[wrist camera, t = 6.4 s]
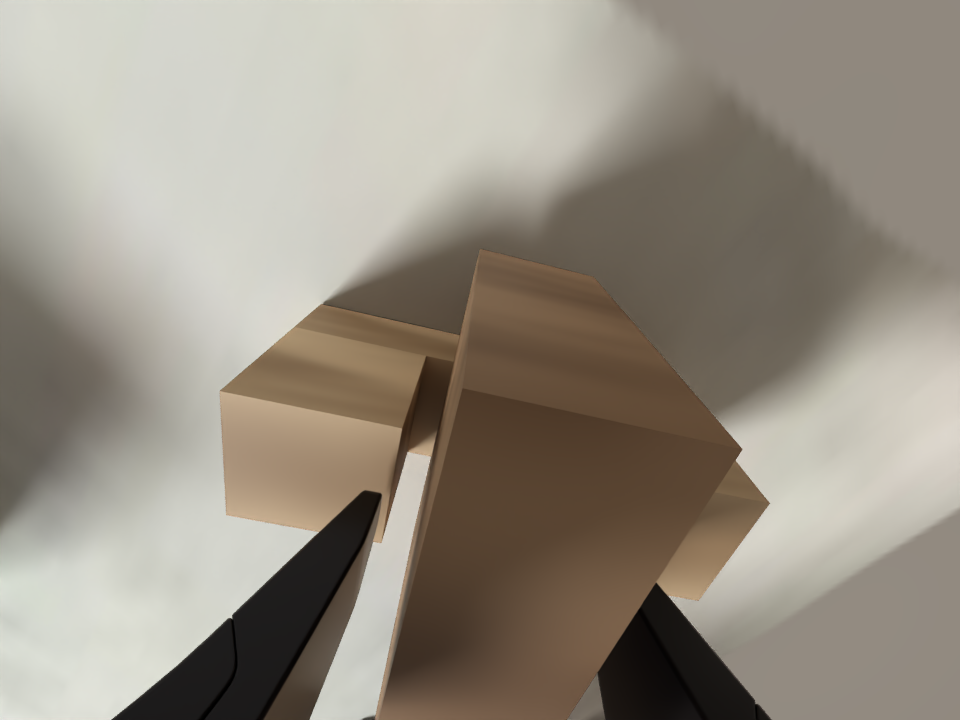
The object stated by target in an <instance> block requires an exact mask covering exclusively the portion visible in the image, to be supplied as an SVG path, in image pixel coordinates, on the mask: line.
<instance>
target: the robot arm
mask: <svg viewBox="0 0 960 720" xmlns="http://www.w3.org/2000/svg"><path fill="white" fill-rule="evenodd" d="M381 502H382V494H381V493H380V492H374V491H369V490H364V491H362V492H361V493H360V494H359V495H358V496H356V497H355V498H354V499H353V500H352V501H351V502H350V503H349V504H348V505H347V506H346V507H345V508H344V509H343V510H342V511H341V512H340V513H339V514H338V515H337V516H335V517H334V518H333V519H332V520H331V521H330V522H329V523H328V524H327V525H326V526H325V527H324V528H323V529H322V530H321V531H320V532H319V533H318V534H317V535H316V536H314V537H313V538H312V539H311V540H310V541H309V542H308V543H307V544H306V545H305V546H304V547H303V548H302V549H301V550H300V551H299V552H298V553H297V554H296V555H295V556H293V557H292V558H291V559H290V560H289V561H288V562H287V563H286V564H285V565H284V566H283V567H282V568H281V569H280V570H279V571H278V572H277V573H276V574H275V575H273V576H272V577H271V578H270V579H269V580H268V581H267V582H266V583H265V584H264V585H263V586H262V587H261V588H260V589H259V590H258V591H257V592H256V593H255V594H254V595H252V596H251V597H250V598H249V599H248V600H247V601H246V602H245V603H244V604H243V605H242V606H241V607H240V608H239V609H238V610H237V611H236V612H235V613H234V614H233V615H232V619H231V618H228V619H227V620H226V621H225V622H224V623H223V624H222V625H221V626H220V627H219V628H218V629H216V630H215V631H214V632H213V633H212V634H211V635H210V636H209V637H208V638H207V639H206V640H205V641H204V642H203V643H202V644H200V645H199V646H198V647H197V648H196V649H195V650H194V651H193V652H192V653H190V654H189V655H188V656H187V657H186V658H185V659H184V660H183V661H182V662H181V663H179V664H178V665H177V666H176V667H175V668H174V669H173V670H171V671H170V672H169V673H168V674H167V675H165V676H164V677H163V678H162V679H161V680H159V681H158V682H157V683H156V684H155V685H153V686H152V687H151V688H150V689H149V690H147V691H146V692H145V693H144V694H143V695H141V696H140V697H139V698H138V699H136V700H135V701H134V702H133V703H131V704H130V705H129V706H128V707H127V708H125V709H124V710H123V711H122V712H120V713H119V714H118V715H117V716H115V717H114V718H113V719H112V720H309V719H310V717H311V714H312V712H313V709H314V707H315V704H316V702H317V699H318V697H319V694H320V692H321V689H322V687H323V684H324V682H325V679H326V677H327V674H328V672H329V669H330V667H331V664H332V662H333V659H334V657H335V654H336V652H337V649H338V647H339V644H340V642H341V639H342V637H343V634H344V632H345V629H346V627H347V624H348V622H349V619H350V616H351V614H352V611H353V609H354V606H355V603H356V600H357V597H358V594H359V590H360V587H361V583H362V579H363V576H364V572H365V569H366V565H367V561H368V558H369V554H370V551H371V547H372V543H373V540H374V536H375V533H376V529H377V525H378V520H379V514H380V508H381ZM597 674H598V680H599V685H600V691H601V697H602V703H603V708H604V714H605V720H771V719H770V717H769V716H768V715H767V714H766V713H765V711H764V710H763V709H762V708H761V706H760V705H758V704H755V700H754V698H753V697H752V696H751V695H750V693H749V692H748V691H747V690H746V689H745V688H744V686H743V685H742V684H741V683H740V682H739V680H738V679H737V678H736V677H735V676H734V675H733V673H732V672H731V671H730V670H729V669H728V667H727V666H726V665H725V664H724V662H723V661H722V660H721V659H720V658H719V656H718V655H717V654H716V653H715V652H714V650H713V649H712V648H711V647H710V646H709V645H708V643H707V642H706V641H705V640H704V639H703V637H702V636H701V635H700V634H699V633H698V631H697V630H696V629H695V628H694V627H693V625H692V624H691V623H690V622H689V621H688V619H687V618H686V617H685V616H684V615H683V613H682V612H681V611H680V610H679V609H678V607H677V606H676V605H675V604H674V603H673V602H672V600H671V599H670V598H669V597H668V596H667V594H666V593H665V592H664V591H663V590H662V588H661V587H660V586H659V585H658V584H657V582H656V583H655V585H654V586H653V588H652V589H651V591H650V592H649V594H648V595H647V597H646V599H645V600H644V602H643V603H642V605H641V606H640V608H639V609H638V611H637V612H636V614H635V615H634V617H633V619H632V620H631V622H630V623H629V625H628V626H627V628H626V629H625V631H624V632H623V634H622V635H621V637H620V639H619V640H618V642H617V643H616V645H615V646H614V648H613V649H612V651H611V652H610V654H609V655H608V657H607V659H606V660H605V662H604V663H603V665H602V666H601V668H600V669H599V671H598V672H597Z"/></svg>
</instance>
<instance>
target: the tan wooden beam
mask: <svg viewBox="0 0 960 720" xmlns="http://www.w3.org/2000/svg"><path fill="white" fill-rule="evenodd" d="M741 451H742V448H741V447H740V446H739V445H738V444H737V442H736V441H735V440H734V439H733V438H732V437H731V435H730V434H729V433H728V432H727V431H726V430H725V428H724V427H723V426H722V425H721V424H720V423H719V422H718V420H717V419H716V418H715V417H714V416H713V415H712V413H711V412H710V411H709V410H708V409H707V408H706V406H705V405H704V404H703V403H702V402H701V401H700V400H699V398H698V397H697V396H696V395H695V394H694V393H693V391H692V390H691V389H690V388H689V387H688V386H687V384H686V383H685V382H684V381H683V380H682V379H681V378H680V376H679V375H678V374H677V373H676V372H675V371H674V369H673V368H672V367H671V366H670V365H669V364H668V362H667V361H666V360H665V359H664V358H663V357H662V355H661V354H660V353H659V352H658V351H657V350H656V349H655V347H654V346H653V345H652V344H651V343H650V342H649V340H648V339H647V338H646V337H645V336H644V335H643V333H642V332H641V331H640V330H639V329H638V328H637V327H636V325H635V324H634V323H633V322H632V321H631V320H630V318H629V317H628V316H627V315H626V314H625V313H624V311H623V310H622V309H621V308H620V307H619V306H618V305H617V303H616V302H615V301H614V300H613V299H612V298H611V296H610V295H609V294H608V293H607V292H606V291H605V289H604V288H603V287H602V286H601V285H600V284H599V283H598V281H597V280H596V279H595V278H594V277H592V276H588V275H584V274H580V273H576V272H572V271H568V270H564V269H560V268H556V267H552V266H548V265H544V264H540V263H536V262H532V261H528V260H524V259H519V258H515V257H511V256H507V255H503V254H499V253H495V252H491V251H487V250H483V249H480V251H479V255H478V259H477V263H476V268H475V272H474V276H473V280H472V285H471V289H470V293H469V298H468V302H467V306H466V310H465V315H464V319H463V323H462V327H461V332H460V336H459V340H458V344H457V349H456V353H455V357H454V362H453V366H452V370H451V374H450V379H449V383H448V387H447V391H446V396H445V400H444V404H443V408H442V413H441V417H440V421H439V426H438V430H437V434H436V438H435V443H434V447H433V451H432V455H431V460H430V464H429V468H428V472H427V477H426V481H425V485H424V490H423V494H422V498H421V502H420V507H419V511H418V515H417V519H416V524H415V528H414V533H413V538H412V542H411V547H410V552H409V557H408V562H407V567H406V571H405V576H404V581H403V586H402V591H401V595H400V600H399V605H398V610H397V615H396V620H395V624H394V629H393V634H392V639H391V644H390V648H389V653H388V658H387V663H386V668H385V672H384V677H383V682H382V687H381V692H380V697H379V701H378V706H377V711H376V716H375V720H567V719H568V717H569V715H570V714H571V712H572V711H573V709H574V708H575V706H576V705H577V703H578V702H579V700H580V699H581V697H582V695H583V694H584V692H585V691H586V689H587V688H588V686H589V685H590V683H591V682H592V680H593V679H594V677H595V675H596V674H597V672H598V671H599V669H600V668H601V666H602V665H603V663H604V662H605V660H606V659H607V657H608V655H609V654H610V652H611V651H612V649H613V648H614V646H615V645H616V643H617V642H618V640H619V639H620V637H621V635H622V634H623V632H624V631H625V629H626V628H627V626H628V625H629V623H630V622H631V620H632V619H633V617H634V615H635V614H636V612H637V611H638V609H639V608H640V606H641V605H642V603H643V602H644V600H645V599H646V597H647V595H648V594H649V592H650V591H651V589H652V588H653V586H654V585H655V583H656V582H657V580H658V579H659V577H660V575H661V574H662V572H663V571H664V569H665V568H666V566H667V565H668V563H669V562H670V560H671V559H672V557H673V555H674V554H675V552H676V551H677V549H678V548H679V546H680V545H681V543H682V542H683V540H684V539H685V537H686V535H687V534H688V532H689V531H690V529H691V528H692V526H693V525H694V523H695V522H696V520H697V519H698V517H699V515H700V514H701V512H702V511H703V509H704V508H705V506H706V505H707V503H708V502H709V500H710V499H711V497H712V495H713V494H714V492H715V491H716V489H717V488H718V486H719V485H720V483H721V482H722V480H723V479H724V477H725V475H726V474H727V472H728V471H729V469H730V468H731V466H732V465H733V463H734V462H735V460H736V459H737V457H738V455H739V454H740V452H741Z"/></svg>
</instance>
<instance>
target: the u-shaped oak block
mask: <svg viewBox="0 0 960 720" xmlns="http://www.w3.org/2000/svg"><path fill="white" fill-rule="evenodd" d="M459 336H460V335H457V334H452V333H448V332H443V331H439V330H434V329H430V328H426V327H421V326H417V325H412V324H408V323H403V322H399V321H394V320H390V319H385V318H381V317H376V316H372V315H368V314H363V313H359V312H354V311H350V310H345V309H341V308H336V307H332V306H327V305H323V304H321V305H320V306H318V307H317V308H316V309H315V310H314V311H313V312H311V313H310V314H309V315H308V316H307V317H306V318H304V319H303V320H302V321H301V322H300V323H299V324H297V325H296V326H295V327H294V328H293V329H292V330H290V331H289V332H288V333H287V334H286V335H285V336H283V337H282V338H281V339H280V340H279V341H278V342H276V343H275V344H274V345H273V346H272V347H271V348H269V349H268V350H267V351H266V352H265V353H264V354H262V355H261V356H260V357H259V358H258V359H256V360H255V361H254V362H253V363H252V364H251V365H249V366H248V367H247V368H246V369H245V370H244V371H242V372H241V373H240V374H239V375H238V376H237V377H235V378H234V379H233V380H232V381H231V382H230V383H228V384H227V385H226V386H225V387H224V388H223V389H221V390H220V407H221V425H222V444H223V463H224V481H225V500H226V515H228V516H234V517H239V518H245V519H250V520H256V521H261V522H267V523H272V524H278V525H283V526H289V527H294V528H300V529H305V530H311V531H316V532H320V531H321V530H322V529H323V528H324V527H325V526H326V525H327V524H328V523H329V522H330V521H331V520H332V519H333V518H334V517H335V516H337V515H338V514H339V513H340V512H341V511H342V510H343V509H344V508H345V507H346V506H347V505H348V504H349V503H350V502H351V501H352V500H353V499H354V498H355V497H356V496H358V495H359V494H360V493H361V492H362V491H364V490H369V491H374V492H380V493H381V494H382V502H381V508H380V514H379V520H378V525H377V529H376V533H375V536H374V540H373V542H377V543H381V542H382V539H383V535H384V532H385V528H386V525H387V521H388V518H389V514H390V511H391V507H392V504H393V500H394V497H395V493H396V490H397V486H398V483H399V479H400V476H401V472H402V469H403V465H404V462H405V458H406V455H407V452H411V453H416V454H421V455H426V456H431V455H432V451H433V447H434V443H435V438H436V434H437V430H438V426H439V421H440V417H441V413H442V408H443V404H444V400H445V396H446V391H447V387H448V383H449V379H450V374H451V370H452V366H453V362H454V357H455V353H456V349H457V344H458V340H459ZM769 504H770V503H769V502H768V500H767V499H766V498H765V497H764V495H763V494H762V493H761V492H760V491H759V489H758V488H757V487H756V486H755V484H754V483H753V482H752V481H751V479H750V478H749V477H748V476H747V474H746V473H745V472H744V471H743V469H742V468H741V467H740V466H739V465H738V463H737V462H736V461H735V462H734V463H733V465H732V466H731V468H730V469H729V471H728V472H727V474H726V475H725V477H724V479H723V480H722V482H721V483H720V485H719V486H718V488H717V489H716V491H715V492H714V494H713V495H712V497H711V499H710V500H709V502H708V503H707V505H706V506H705V508H704V509H703V511H702V512H701V514H700V515H699V517H698V519H697V520H696V522H695V523H694V525H693V526H692V528H691V529H690V531H689V532H688V534H687V535H686V537H685V539H684V540H683V542H682V543H681V545H680V546H679V548H678V549H677V551H676V552H675V554H674V555H673V557H672V559H671V560H670V562H669V563H668V565H667V566H666V568H665V569H664V571H663V572H662V574H661V575H660V577H659V579H658V580H657V584H658V585H659V586H660V587H661V588H662V590H663V591H664V592H665V593H666V594H667V595H669V596H675V597H680V598H686V599H691V600H697V601H699V599H700V598H701V597H702V595H703V594H704V592H705V591H706V590H707V588H708V587H709V586H710V584H711V583H712V582H713V580H714V579H715V577H716V576H717V575H718V573H719V572H720V571H721V569H722V568H723V567H724V565H725V564H726V562H727V561H728V560H729V558H730V557H731V556H732V554H733V553H734V552H735V550H736V549H737V547H738V546H739V545H740V543H741V542H742V541H743V539H744V538H745V537H746V535H747V534H748V532H749V531H750V530H751V528H752V527H753V526H754V524H755V523H756V522H757V520H758V519H759V517H760V516H761V515H762V513H763V512H764V511H765V509H766V508H767V507H768V505H769Z"/></svg>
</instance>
